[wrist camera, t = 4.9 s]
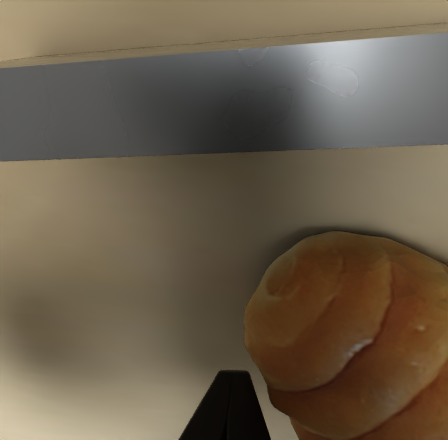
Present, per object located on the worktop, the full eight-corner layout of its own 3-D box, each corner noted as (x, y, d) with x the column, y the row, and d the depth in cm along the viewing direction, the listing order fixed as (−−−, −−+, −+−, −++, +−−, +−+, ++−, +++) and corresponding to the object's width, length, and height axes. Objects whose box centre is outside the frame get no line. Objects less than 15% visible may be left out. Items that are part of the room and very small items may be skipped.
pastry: (193, 314, 10) (157, 449, 7) (379, 146, 7) (468, 242, 4) (401, 454, 13) (448, 608, 9) (610, 366, 10) (790, 547, 6)
